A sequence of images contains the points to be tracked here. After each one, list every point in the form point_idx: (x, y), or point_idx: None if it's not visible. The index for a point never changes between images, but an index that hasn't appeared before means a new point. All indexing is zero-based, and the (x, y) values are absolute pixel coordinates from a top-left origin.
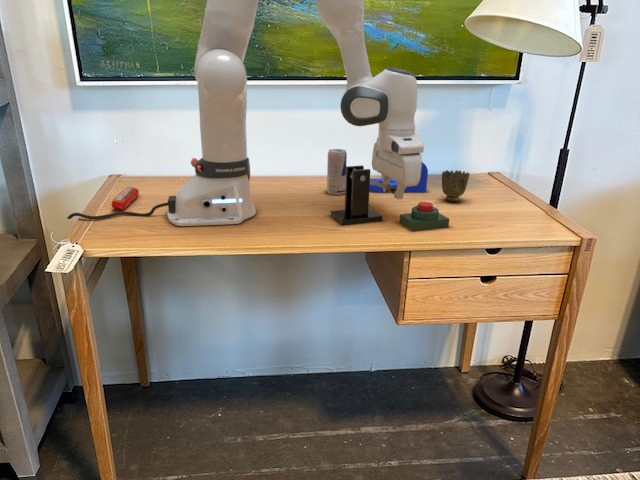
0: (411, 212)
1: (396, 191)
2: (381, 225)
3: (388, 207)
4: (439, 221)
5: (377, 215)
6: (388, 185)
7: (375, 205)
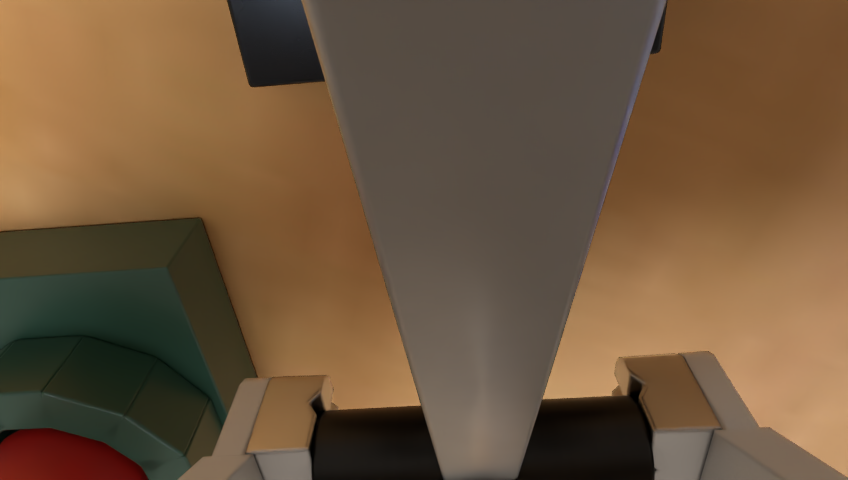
0: (64, 367)
1: (229, 465)
2: (106, 3)
3: (692, 286)
4: None
5: (282, 33)
6: (630, 474)
7: (827, 195)
